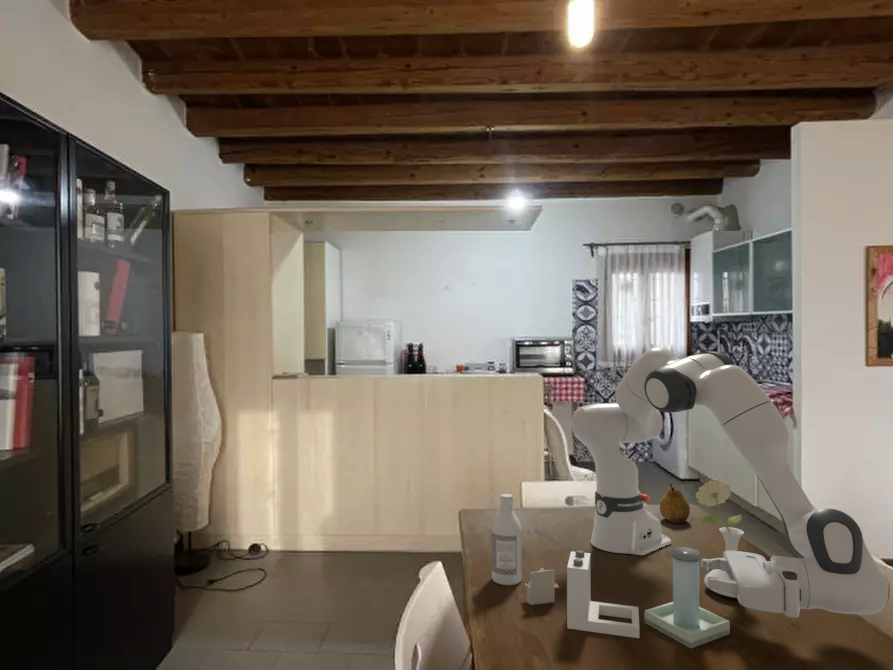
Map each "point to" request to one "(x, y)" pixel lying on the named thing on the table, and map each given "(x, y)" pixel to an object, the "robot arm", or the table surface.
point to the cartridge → (686, 587)
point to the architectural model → (541, 587)
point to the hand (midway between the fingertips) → (704, 573)
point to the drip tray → (691, 638)
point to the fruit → (674, 506)
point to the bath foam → (506, 544)
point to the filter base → (594, 603)
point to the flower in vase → (713, 496)
